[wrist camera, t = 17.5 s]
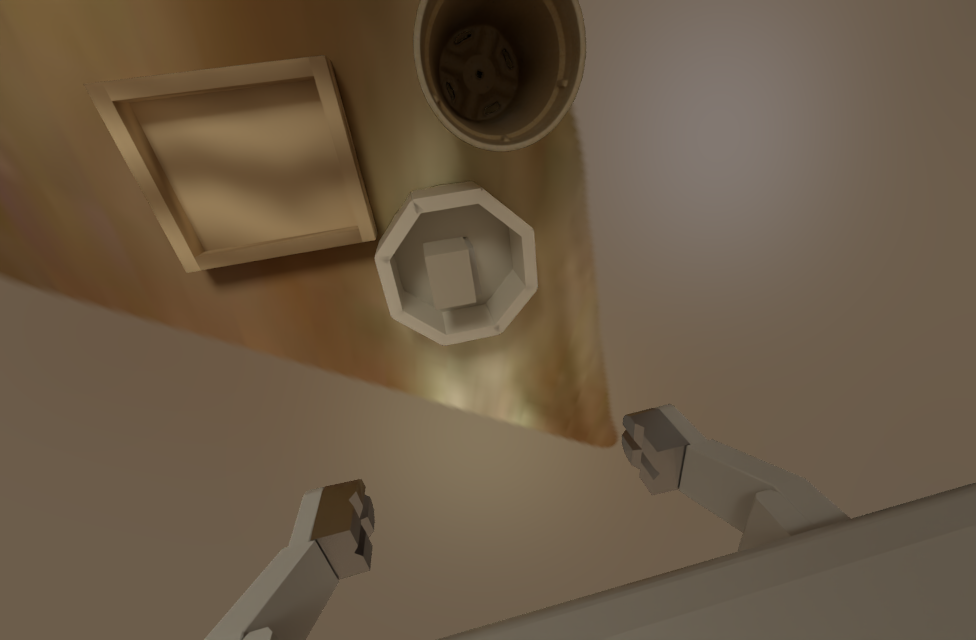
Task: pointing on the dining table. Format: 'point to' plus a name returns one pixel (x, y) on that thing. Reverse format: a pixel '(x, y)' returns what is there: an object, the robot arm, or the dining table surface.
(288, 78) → the tray
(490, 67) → the flower pot
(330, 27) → the dining table surface
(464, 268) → the block
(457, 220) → the bowl
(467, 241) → the tall grey rectangular block
